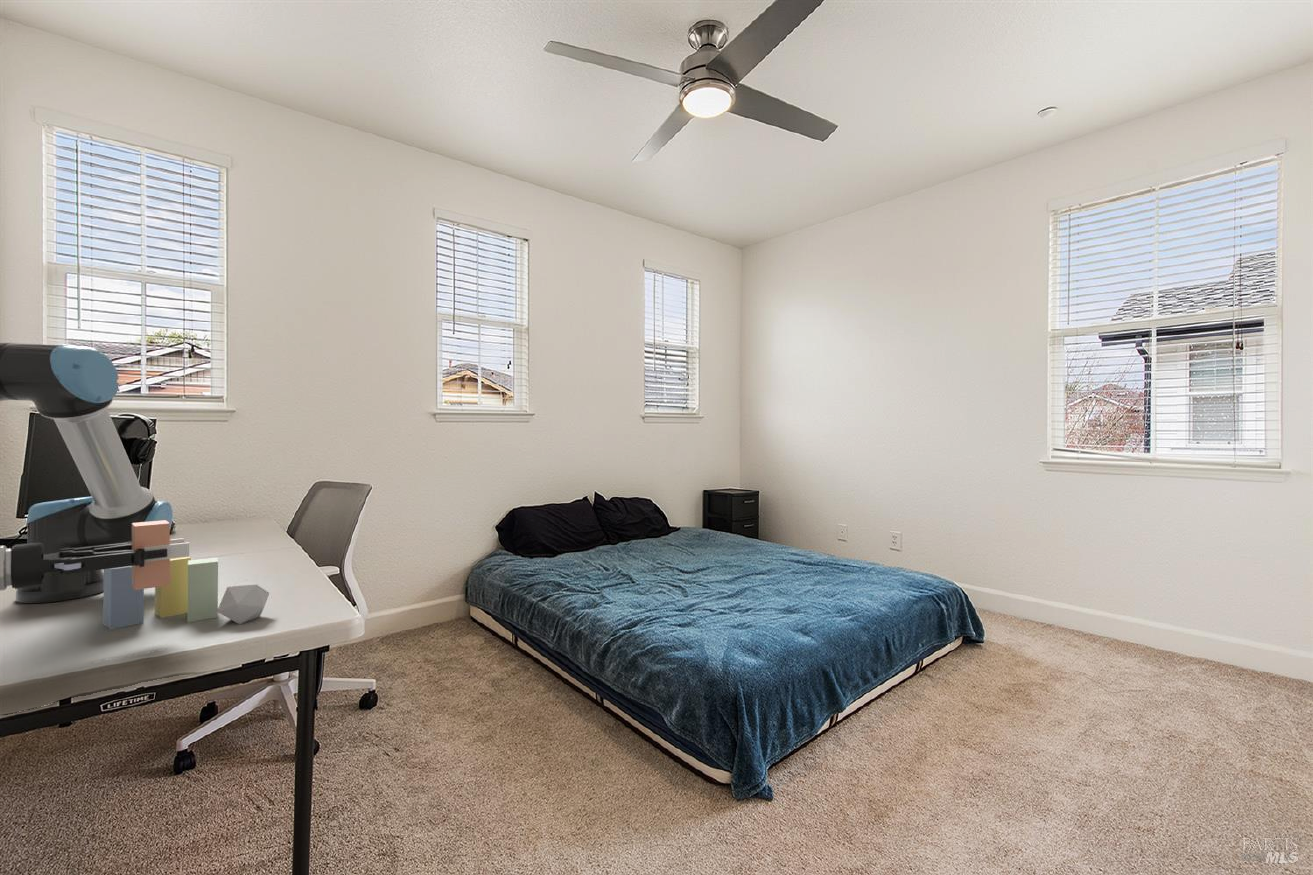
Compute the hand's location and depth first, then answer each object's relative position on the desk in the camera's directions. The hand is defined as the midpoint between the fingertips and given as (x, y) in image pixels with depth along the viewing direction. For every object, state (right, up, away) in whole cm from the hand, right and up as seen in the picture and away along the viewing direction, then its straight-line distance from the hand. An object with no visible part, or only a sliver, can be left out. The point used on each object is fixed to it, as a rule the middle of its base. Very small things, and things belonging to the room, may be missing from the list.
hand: (185, 547), depth 113 cm
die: (+7, -17, +7) cm, 19 cm away
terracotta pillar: (-4, -7, -4) cm, 8 cm away
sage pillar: (-4, -17, +9) cm, 19 cm away
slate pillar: (-16, -17, +4) cm, 23 cm away
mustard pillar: (-12, -17, +11) cm, 23 cm away
